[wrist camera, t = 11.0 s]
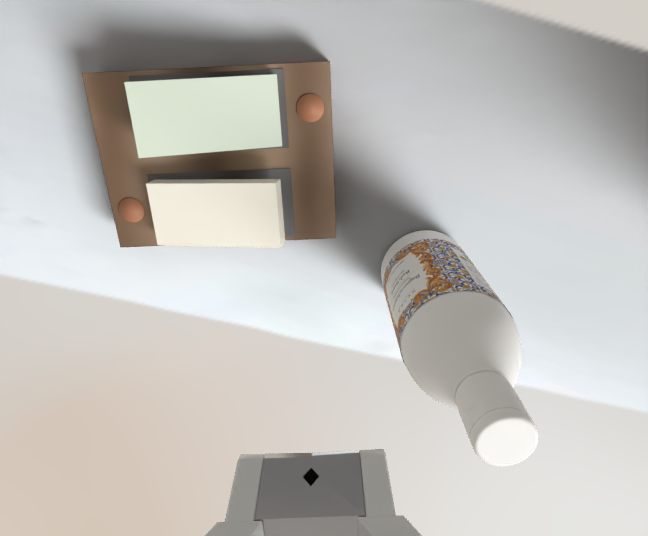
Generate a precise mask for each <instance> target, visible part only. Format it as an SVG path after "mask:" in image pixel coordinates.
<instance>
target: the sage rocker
mask: <svg viewBox="0 0 648 536" xmlns="http://www.w3.org/2000/svg"><path fill="white" fill-rule="evenodd" d="M124 84H125V89H126V94H127V100H128V105H129V110H130V115H131V121H132V126H133V131H134V136H135V141H136V147H137V152H138V157H139V158H148V157H160V156H172V155H184V154H196V153H208V152H220V151H232V150H244V149H256V148H268V147H280V146H282V136H281V123H280V110H279V97H278V83H277V74H266V75H247V76H228V77H208V78H189V79H170V80H151V81H132V82H124Z"/></svg>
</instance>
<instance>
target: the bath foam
mask: <svg viewBox="0 0 648 536" xmlns="http://www.w3.org/2000/svg"><path fill="white" fill-rule="evenodd" d="M381 280H382V284H383V288H384V292H385V296H386V300H387V303H388V307H389V311H390V315H391V318H392V322H393V326H394V329H395V333H396V337H397V340H398V344H399V348H400V351H401V355H402V358H403V361H404V363H405V365H406V367H407V369H408V371H409V373H410V375H411V376H412V378H413V379H414V381H415V382H416V383H417V384H418V386H419V387H420V388H421V389H422V390H423V391H424V392H426V394H428V395H429V396H430V397H432V398H433V399H435V400H436V401H438V402H440V403H442V404H444V405H446V406H448V407H451V408H454V409H456V410H459V413H460V416H461V418H462V421H463V423H464V426H465V429H466V431H467V434H468V436H469V438H470V441H471V444H472V446H473V449H474V451H475V453H476V454H477V455H478V457H479V458H480V459H482V460H483V461H484V462H486V463H488V464H491V465H495V466H509V465H514V464H517V463H519V462H521V461H523V460H525V459H526V458H527V457H529V456H530V455H531V454H532V452H533V451H534V450H535V448H536V446H537V443H538V431H537V428H536V426H535V424H534V422H533V421H532V419H531V417H530V416H529V414H528V412H527V410H526V409H525V407H524V405H523V404H522V402H521V400H520V399H519V397H518V395H517V393H516V392H515V390H514V389H513V387H514V385H515V383H516V381H517V378H518V375H519V372H520V368H521V361H522V347H521V341H520V336H519V333H518V330H517V327H516V325H515V322H514V320H513V318H512V316H511V314H510V313H509V311H508V310H507V308H506V307H505V306H504V304H503V303H502V302H501V300H500V299H499V298H498V296H497V295H496V294H495V292H494V291H493V290H492V288H491V287H490V286H489V284H488V283H487V282H486V280H485V279H484V278H483V276H482V275H481V274H480V272H479V271H478V270H477V268H476V267H475V266H474V264H473V263H472V262H471V260H470V259H469V258H468V256H467V255H466V254H465V253H464V251H463V250H462V249H461V248H460V246H459V245H458V244H457V243H456V242H455V241H454V240H453V239H452V238H450V237H449V236H447V235H445V234H443V233H440V232H437V231H431V230H422V231H416V232H412V233H409V234H407V235H405V236H403V237H401V238H400V239H398V240H397V241H396V242H395V243H394V244H393V245H392V246H391V247H390V248H389V249H388V251H387V252H386V254H385V256H384V259H383V262H382V266H381Z"/></svg>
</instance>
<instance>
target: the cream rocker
mask: <svg viewBox="0 0 648 536" xmlns="http://www.w3.org/2000/svg"><path fill="white" fill-rule="evenodd" d="M146 187H147V192H148V197H149V203H150V208H151V213H152V218H153V224H154V229H155V234H156V239H157V245H171V246H216V247H261V248H281V247H282V246H283V244H284V243H285V231H284V218H283V206H282V193H281V181H280V179H173V180H153V181H151V182H148V183H146Z"/></svg>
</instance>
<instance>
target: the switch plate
mask: <svg viewBox="0 0 648 536" xmlns="http://www.w3.org/2000/svg"><path fill="white" fill-rule="evenodd" d="M266 74H277V83H278V97H279V110H280V123H281V136H282V146H280V147H268V148H256V149H244V150H232V151H220V152H208V153H196V154H184V155H172V156H160V157H148V158H139V157H138V152H137V147H136V141H135V136H134V131H133V126H132V121H131V115H130V110H129V105H128V100H127V94H126V89H125V84H124V82H132V81H151V80H170V79H189V78H208V77H228V76H247V75H266ZM82 76H83V80H84V85H85V89H86V94H87V98H88V103H89V107H90V112H91V116H92V121H93V125H94V130H95V134H96V139H97V143H98V148H99V152H100V157H101V161H102V166H103V170H104V175H105V179H106V184H107V188H108V193H109V197H110V202H111V206H112V211H113V215H114V220H115V224H116V229H117V233H118V238H119V242H120V247H141V246H164V245H157V239H156V234H155V229H154V224H153V218H152V213H151V208H150V203H149V197H148V192H147V187H146V183H148V182H151V181H153V180H173V179H280V181H281V193H282V206H283V218H284V231H285V240H304V239H327V238H336V216H335V189H334V161H333V134H332V106H331V79H330V61H325V62H304V63H283V64H262V65H242V66H221V67H200V68H179V69H158V70H137V71H117V72H96V73H82Z"/></svg>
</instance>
